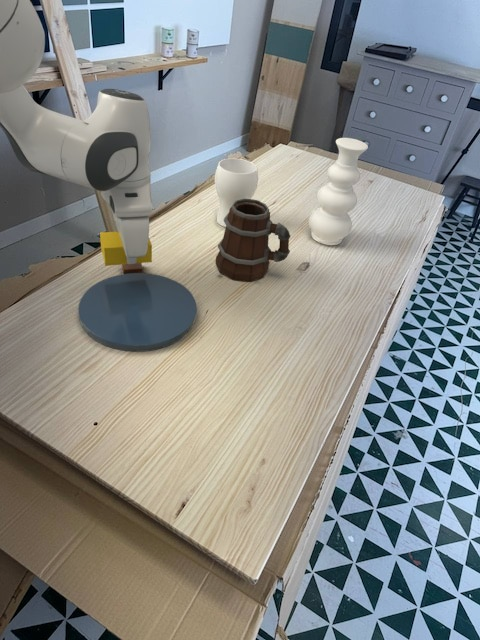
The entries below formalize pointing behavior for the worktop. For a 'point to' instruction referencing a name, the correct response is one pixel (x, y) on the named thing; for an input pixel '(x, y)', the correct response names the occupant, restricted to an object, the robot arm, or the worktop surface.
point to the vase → (337, 195)
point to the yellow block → (118, 250)
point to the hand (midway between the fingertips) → (128, 252)
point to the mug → (249, 241)
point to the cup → (234, 183)
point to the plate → (137, 312)
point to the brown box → (132, 268)
